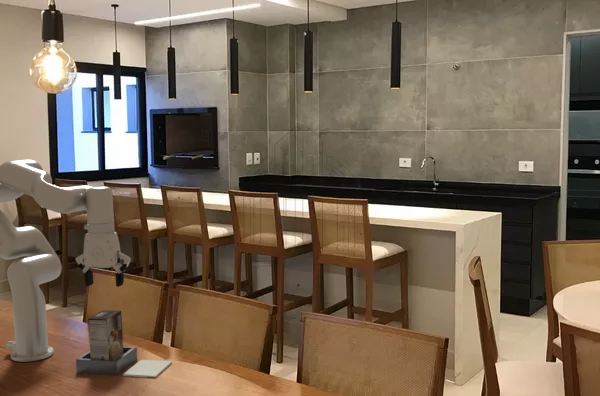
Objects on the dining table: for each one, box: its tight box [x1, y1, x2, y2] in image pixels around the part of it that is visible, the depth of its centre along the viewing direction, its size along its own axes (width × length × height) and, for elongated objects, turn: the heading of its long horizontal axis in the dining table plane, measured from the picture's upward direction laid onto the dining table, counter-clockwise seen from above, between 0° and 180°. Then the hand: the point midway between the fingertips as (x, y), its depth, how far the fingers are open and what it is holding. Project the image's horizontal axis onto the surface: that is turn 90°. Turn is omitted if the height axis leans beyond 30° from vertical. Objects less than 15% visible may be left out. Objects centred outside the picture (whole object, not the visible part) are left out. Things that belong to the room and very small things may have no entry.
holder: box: [75, 345, 138, 376], centre depth 198 cm, size 13×13×4 cm
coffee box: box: [87, 309, 124, 360], centre depth 198 cm, size 9×6×16 cm
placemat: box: [122, 359, 173, 379], centre depth 195 cm, size 10×12×1 cm
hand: (104, 285), depth 196 cm, fingers open, 9 cm apart
